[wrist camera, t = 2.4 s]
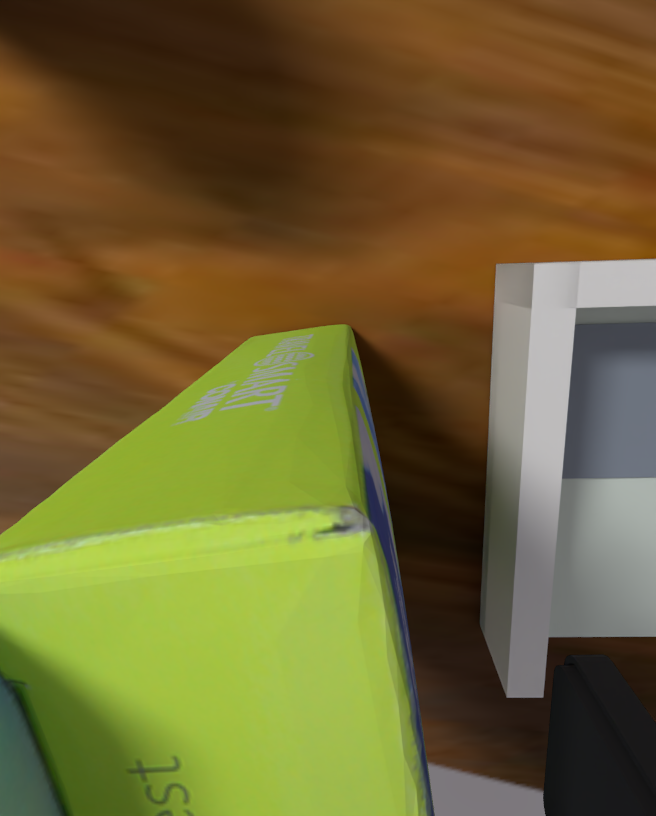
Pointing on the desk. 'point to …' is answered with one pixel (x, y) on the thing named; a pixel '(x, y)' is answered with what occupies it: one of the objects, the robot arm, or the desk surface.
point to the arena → (569, 462)
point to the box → (217, 610)
